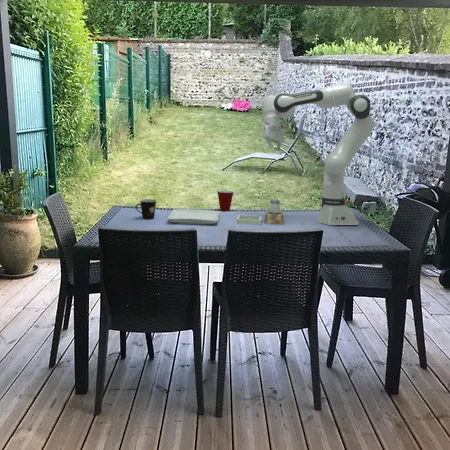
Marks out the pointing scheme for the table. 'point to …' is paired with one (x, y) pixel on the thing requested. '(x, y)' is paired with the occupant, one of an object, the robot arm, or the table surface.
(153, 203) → the coffee mug
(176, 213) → the square plate
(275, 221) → the holder
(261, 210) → the table surface
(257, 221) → the tray
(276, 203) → the canister
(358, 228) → the table surface
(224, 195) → the plastic cup
